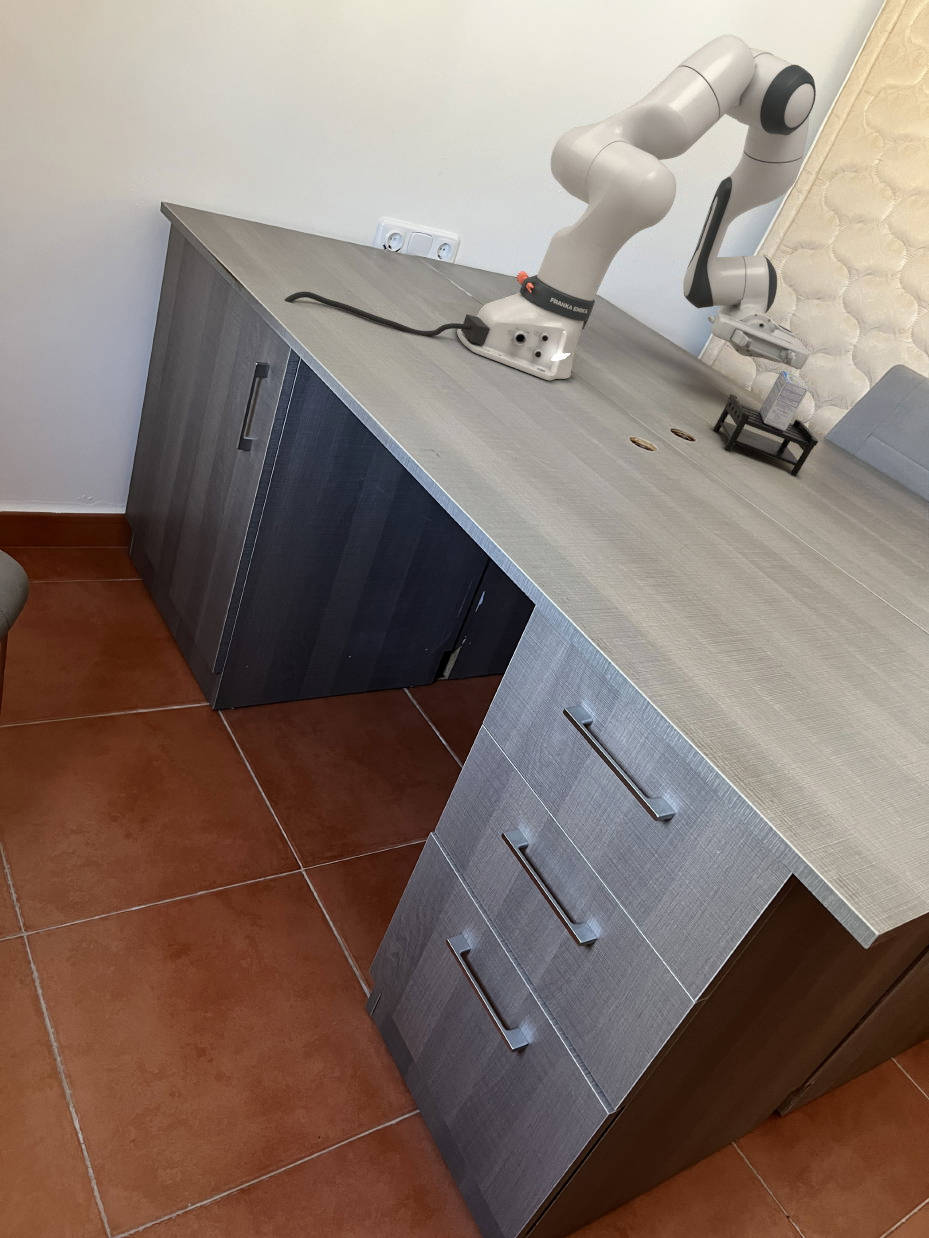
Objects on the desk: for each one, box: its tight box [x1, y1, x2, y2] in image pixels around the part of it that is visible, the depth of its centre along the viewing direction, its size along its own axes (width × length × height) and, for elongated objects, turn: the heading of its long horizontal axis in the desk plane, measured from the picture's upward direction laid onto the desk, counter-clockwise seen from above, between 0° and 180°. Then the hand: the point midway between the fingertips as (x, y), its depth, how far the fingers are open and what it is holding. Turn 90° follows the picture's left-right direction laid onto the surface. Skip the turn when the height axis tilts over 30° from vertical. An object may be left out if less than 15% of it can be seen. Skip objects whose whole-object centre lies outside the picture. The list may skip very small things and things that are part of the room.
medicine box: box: [759, 370, 809, 432], centre depth 171 cm, size 8×4×9 cm, turn 169°
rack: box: [712, 394, 819, 477], centre depth 175 cm, size 15×11×7 cm
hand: (768, 352), depth 180 cm, fingers open, 8 cm apart
